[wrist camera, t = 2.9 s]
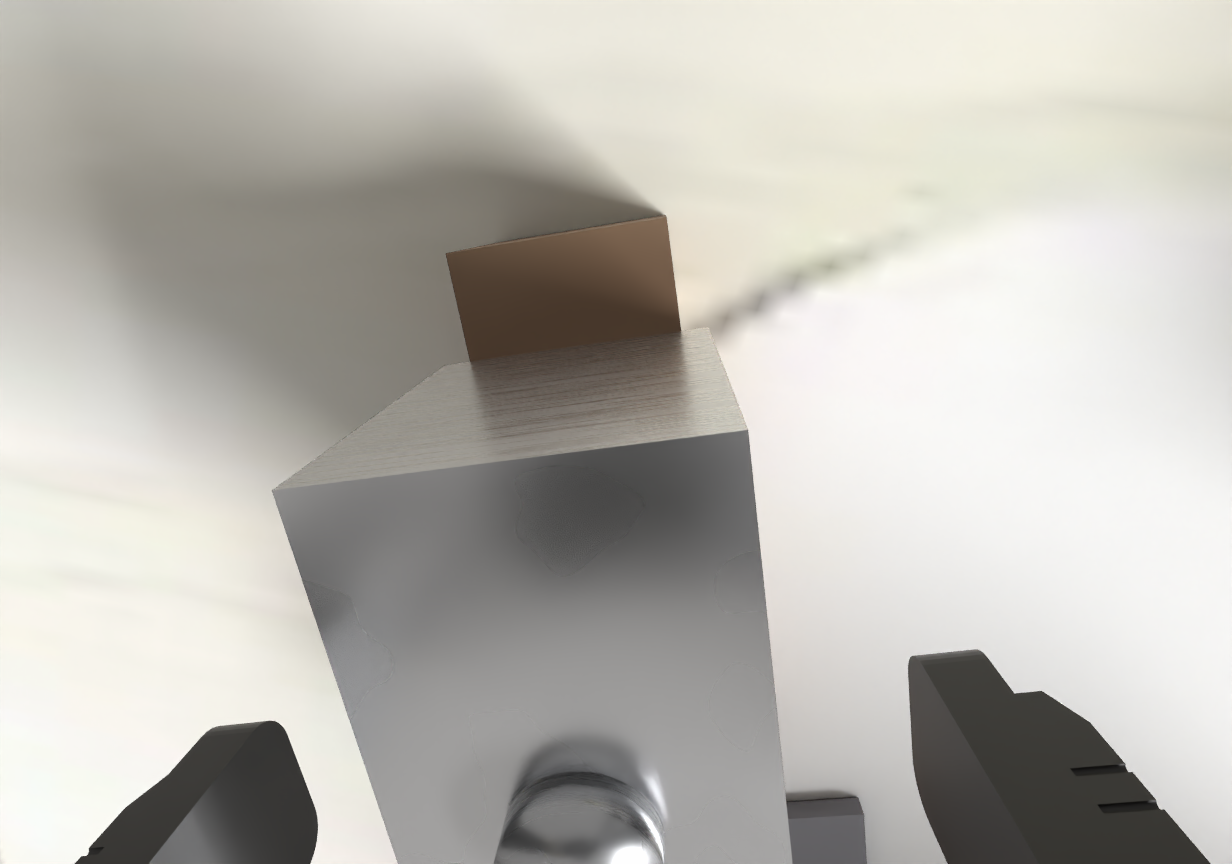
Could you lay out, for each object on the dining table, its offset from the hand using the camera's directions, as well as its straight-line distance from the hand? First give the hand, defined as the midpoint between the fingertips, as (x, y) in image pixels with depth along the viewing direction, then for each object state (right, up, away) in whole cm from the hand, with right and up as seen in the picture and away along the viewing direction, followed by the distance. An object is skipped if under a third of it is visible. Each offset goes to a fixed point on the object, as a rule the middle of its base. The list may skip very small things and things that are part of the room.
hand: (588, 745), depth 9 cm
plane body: (+1, +1, +10) cm, 10 cm away
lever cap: (0, +2, +5) cm, 6 cm away
